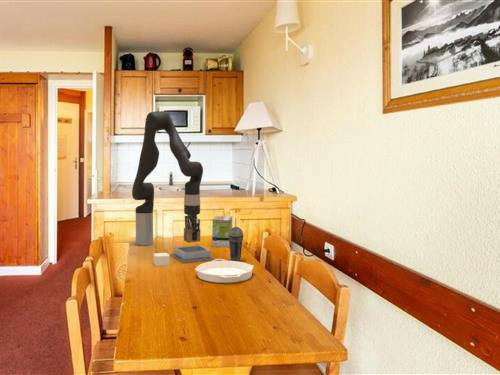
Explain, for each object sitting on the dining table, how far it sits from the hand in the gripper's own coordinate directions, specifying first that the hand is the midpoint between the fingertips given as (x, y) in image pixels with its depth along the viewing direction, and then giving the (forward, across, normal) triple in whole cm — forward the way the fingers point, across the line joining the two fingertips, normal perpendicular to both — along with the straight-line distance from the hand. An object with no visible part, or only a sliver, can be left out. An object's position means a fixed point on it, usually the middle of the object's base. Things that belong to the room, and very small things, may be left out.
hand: (192, 238), depth 210 cm
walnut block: (+1, 0, 0) cm, 1 cm away
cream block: (+9, +6, -17) cm, 20 cm away
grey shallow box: (+9, 0, 0) cm, 9 cm away
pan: (+9, +34, +1) cm, 36 cm away
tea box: (+9, -22, +26) cm, 35 cm away
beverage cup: (+9, +14, +16) cm, 23 cm away
